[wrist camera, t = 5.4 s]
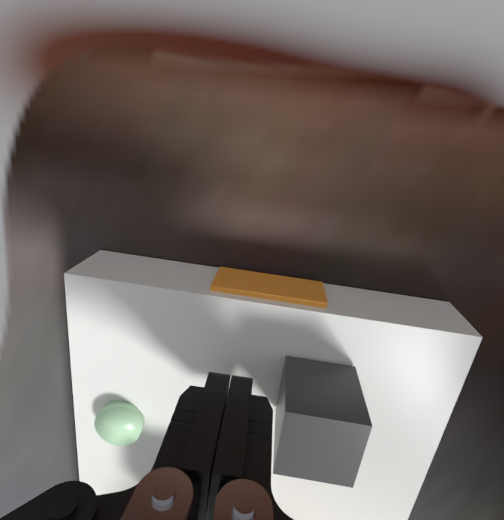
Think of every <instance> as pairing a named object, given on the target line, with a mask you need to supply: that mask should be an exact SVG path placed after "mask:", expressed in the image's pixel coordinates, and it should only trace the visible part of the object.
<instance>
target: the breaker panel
mask: <svg viewBox="0 0 504 520" xmlns="http://www.w3.org/2000/svg"><path fill="white" fill-rule="evenodd" d="M64 280H65V293H66V307H67V320H68V333H69V347H70V360H71V373H72V387H73V400H74V414H75V427H76V440H77V454H78V467H79V480H80V481H81V482H84V483H87V484H88V485H90V486H91V487H92V488H93V489H94V491H95V493H96V495H102V494H108V493H114V492H119V491H123V490H126V489H129V488H131V487H133V486H135V485H137V484H138V483H139V482H140V480H141V479H142V478H143V477H144V476H145V475H146V474H148V473H149V472H150V471H151V469H152V467H153V465H154V463H155V460H156V457H157V455H158V452H159V449H160V447H161V444H162V442H163V439H164V436H165V434H166V431H167V428H168V426H169V423H170V421H171V418H172V415H173V413H174V411H175V407H176V405H177V402H178V399H179V397H180V395H181V394H182V393H183V392H184V391H185V390H186V389H187V388H188V387H189V386H190V385H191V386H198V387H204V386H205V383H206V380H207V376H208V373H209V372H215V373H221V374H228V375H231V376H230V382H231V377H232V375H235V376H242V377H249V378H253V385H252V394H251V395H258V396H265V397H267V398H268V400H269V402H270V405H271V407H272V409H273V424H272V463H271V490H272V494H273V497H274V499H275V501H276V503H277V504H278V506H279V507H280V509H281V510H282V511H283V512H284V513H285V514H286V515H288V516H289V517H290V518H292V519H294V520H408V517H409V515H410V513H411V510H412V508H413V505H414V503H415V500H416V498H417V496H418V493H419V491H420V488H421V486H422V483H423V481H424V479H425V476H426V474H427V471H428V469H429V466H430V464H431V462H432V459H433V457H434V454H435V452H436V449H437V447H438V445H439V442H440V440H441V437H442V435H443V432H444V430H445V428H446V425H447V423H448V420H449V418H450V416H451V413H452V411H453V408H454V406H455V403H456V401H457V399H458V396H459V394H460V391H461V389H462V386H463V384H464V382H465V379H466V377H467V374H468V372H469V369H470V367H471V365H472V362H473V360H474V357H475V355H476V352H477V350H478V348H479V345H480V343H481V340H482V338H483V337H482V336H481V335H480V334H479V333H478V332H477V331H476V330H475V328H474V327H473V326H472V325H471V324H470V323H469V322H468V321H467V320H466V319H465V318H464V317H463V316H462V315H461V314H460V313H459V312H458V311H457V310H456V308H455V307H454V306H453V305H452V304H451V303H450V302H446V301H439V300H433V299H426V298H419V297H413V296H406V295H399V294H392V293H386V292H379V291H372V290H366V289H359V288H352V287H345V286H339V285H332V284H325V283H323V282H321V281H314V280H307V279H301V278H294V277H287V276H280V275H274V274H267V273H260V272H254V271H247V270H240V269H233V268H227V267H220V268H218V267H211V266H205V265H198V264H191V263H184V262H178V261H171V260H164V259H158V258H151V257H144V256H137V255H131V254H124V253H117V252H111V251H104V250H100V251H98V252H97V253H95V254H93V255H92V256H90V257H89V258H87V259H86V260H84V261H82V262H81V263H79V264H78V265H76V266H74V267H73V268H71V269H70V270H68V271H67V272H65V273H64ZM286 356H292V357H298V358H304V359H310V360H317V361H323V362H329V363H335V364H342V365H348V366H354V367H356V371H357V374H358V378H359V381H360V385H361V388H362V392H363V395H364V399H365V402H366V406H367V409H368V413H369V416H370V420H371V423H372V429H371V432H370V435H369V439H368V442H367V445H366V448H365V451H364V454H363V458H362V461H361V464H360V467H359V470H358V473H357V477H356V480H355V483H354V486H353V488H351V487H345V486H340V485H334V484H328V483H323V482H317V481H311V480H306V479H300V478H294V477H289V476H283V475H277V474H273V460H274V437H275V414H276V405H277V400H278V395H279V389H280V384H281V378H282V373H283V367H284V362H285V357H286ZM229 387H230V385H229Z"/></svg>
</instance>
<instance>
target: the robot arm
mask: <svg viewBox="0 0 504 520" xmlns="http://www.w3.org/2000/svg"><path fill="white" fill-rule="evenodd" d="M230 376H231V375H228V374H221V373H215V372H209V373H208V376H207V380H206V383H205V386H204V387H198V386H191V385H190V386H189V387H188V388H187V389H186V390H185V391H184V392H183V393H182V394H181V395H180V397H179V399H178V402H177V405H176V407H175V411H174V413H173V415H172V418H171V421H170V423H169V426H168V428H167V431H166V434H165V436H164V439H163V442H162V444H161V447H160V449H159V452H158V455H157V457H156V460H155V463H154V465H153V467H152V469H151V471H150V472H149V473H148V474H146V475H145V476H144V477H143V478H142V479H141V480H140V482H139V483H138V484H137V485H135V486H133V487H131V488H129V489H126V490H123V491H119V492H114V493H108V494H102V495H96V493H95V491H94V489H93V488H92V487H91V486H90V485H88V484H87V483H84V482H81V481H68V482H64V483H61V484H58V485H56V486H54V487H52V488H50V489H48V490H47V491H45V492H44V493H42V494H40V495H39V496H37V497H35V498H34V499H32V500H30V501H29V502H27V503H25V504H24V505H22V506H20V507H19V508H17V509H15V510H14V511H12V512H10V513H9V514H7V515H5V516H4V517H2V518H0V520H206V519H207V520H294V519H292V518H290V517H289V516H288V515H286V514H285V513H284V512H283V511H282V510H281V509H280V507H279V506H278V504H277V503H276V501H275V499H274V497H273V494H272V490H271V463H272V424H273V409H272V407H271V405H270V402H269V400H268V398H267V397H265V396H258V395H251V394H252V385H253V378H249V377H242V376H235V375H232V377H231V382H230ZM229 385H230V387H229ZM207 513H208V517H207Z"/></svg>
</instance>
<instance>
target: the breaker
mask: <svg viewBox="0 0 504 520" xmlns="http://www.w3.org/2000/svg"><path fill="white" fill-rule="evenodd" d="M371 429H372V423H371V420H370V416H369V413H368V409H367V406H366V402H365V399H364V395H363V392H362V388H361V385H360V381H359V378H358V374H357V371H356V367H354V366H348V365H342V364H335V363H329V362H323V361H317V360H310V359H304V358H298V357H292V356H286V357H285V362H284V367H283V373H282V378H281V384H280V389H279V395H278V400H277V405H276V414H275V437H274V460H273V474H277V475H283V476H289V477H294V478H300V479H306V480H311V481H317V482H323V483H328V484H334V485H340V486H345V487H351V488H353V486H354V483H355V480H356V477H357V473H358V470H359V467H360V464H361V461H362V458H363V454H364V451H365V448H366V445H367V442H368V439H369V435H370V432H371Z"/></svg>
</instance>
